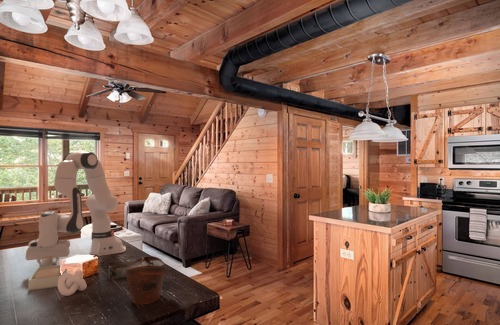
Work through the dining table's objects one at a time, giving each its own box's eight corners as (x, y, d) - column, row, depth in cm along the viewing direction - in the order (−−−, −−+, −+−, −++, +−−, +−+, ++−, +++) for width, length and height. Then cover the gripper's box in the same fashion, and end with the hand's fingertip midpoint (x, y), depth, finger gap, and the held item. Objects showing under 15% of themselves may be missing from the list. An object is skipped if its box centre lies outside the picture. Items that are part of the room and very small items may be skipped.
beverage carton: (108, 275, 162) (108, 263, 162) (145, 269, 171) (145, 258, 171) (108, 280, 155) (108, 267, 155) (147, 274, 164) (147, 262, 164)
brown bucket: (151, 284, 149) (151, 249, 149) (175, 297, 137) (175, 259, 136) (116, 298, 135) (116, 259, 135) (139, 313, 123) (139, 270, 122)
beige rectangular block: (59, 279, 153) (59, 267, 152) (57, 284, 147) (57, 271, 147) (39, 282, 149) (39, 269, 149) (35, 287, 144) (35, 273, 144)
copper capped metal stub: (54, 270, 167) (54, 253, 167) (52, 273, 162) (52, 256, 162) (44, 271, 165) (44, 254, 165) (41, 274, 161) (41, 257, 160)
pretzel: (61, 288, 145) (61, 270, 144) (89, 284, 149) (89, 267, 149) (55, 298, 134) (55, 278, 134) (85, 294, 138) (85, 275, 138)
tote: (69, 273, 163) (69, 264, 163) (62, 286, 147) (62, 276, 146) (39, 276, 158) (39, 267, 158) (28, 290, 141) (28, 280, 141)
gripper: (71, 238, 170) (70, 261, 171) (28, 241, 163) (28, 266, 163) (68, 240, 165) (68, 265, 165) (24, 244, 157) (24, 270, 157)
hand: (48, 266), depth 164 cm, fingers closed on copper capped metal stub, 5 cm apart
